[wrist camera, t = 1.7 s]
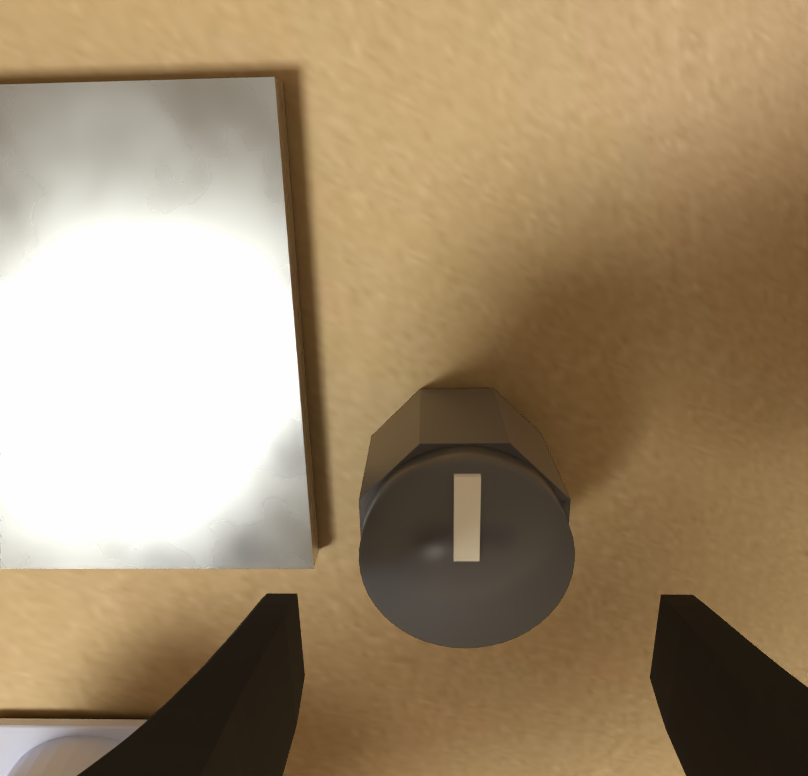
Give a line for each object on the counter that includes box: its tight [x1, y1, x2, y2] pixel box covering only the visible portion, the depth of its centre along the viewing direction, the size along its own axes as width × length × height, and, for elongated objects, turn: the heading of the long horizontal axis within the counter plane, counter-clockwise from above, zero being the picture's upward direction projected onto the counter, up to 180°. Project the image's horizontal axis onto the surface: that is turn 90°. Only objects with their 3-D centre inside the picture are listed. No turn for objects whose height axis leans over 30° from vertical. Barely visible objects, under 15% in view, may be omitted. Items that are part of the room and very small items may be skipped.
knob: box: [359, 388, 575, 648], centre depth 17 cm, size 5×5×5 cm
